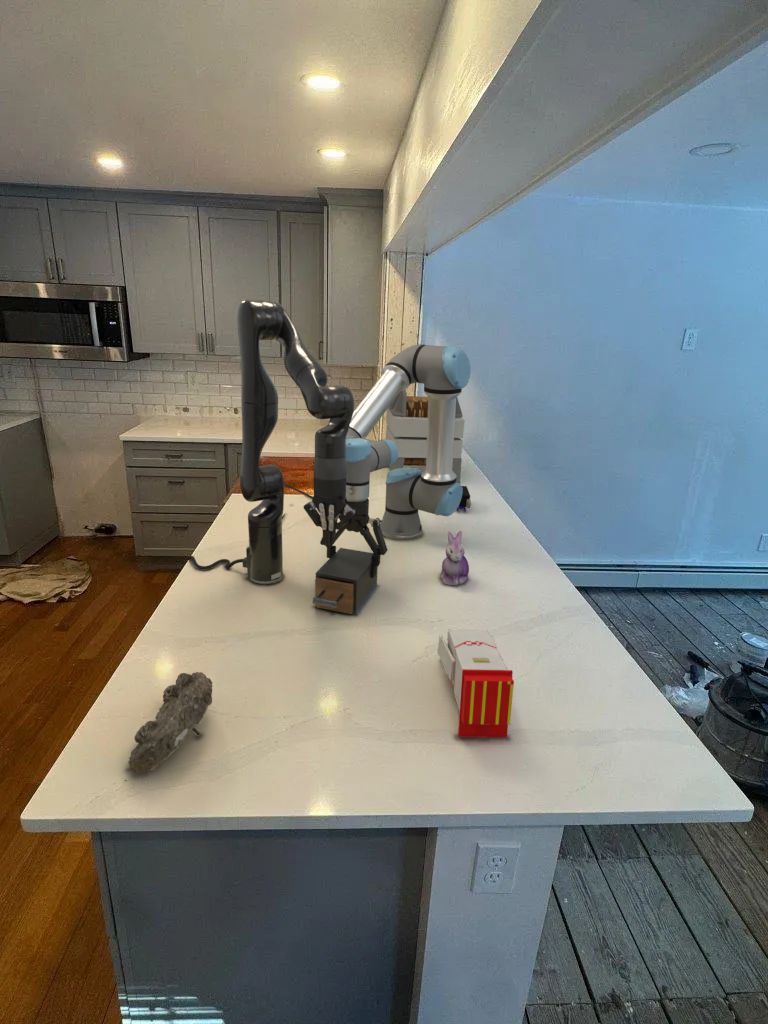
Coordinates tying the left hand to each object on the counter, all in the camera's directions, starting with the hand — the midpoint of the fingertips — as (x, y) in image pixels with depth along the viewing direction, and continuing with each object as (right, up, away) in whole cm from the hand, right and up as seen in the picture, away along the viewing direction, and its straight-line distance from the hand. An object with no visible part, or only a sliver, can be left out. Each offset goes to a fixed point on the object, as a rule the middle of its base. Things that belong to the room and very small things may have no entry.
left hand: (329, 543), depth 136 cm
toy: (+31, -30, -18) cm, 47 cm away
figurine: (+34, -12, +32) cm, 48 cm away
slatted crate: (+30, +26, +139) cm, 144 cm away
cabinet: (+3, -15, +19) cm, 25 cm away
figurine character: (+44, +9, +93) cm, 103 cm away
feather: (-24, +6, +74) cm, 78 cm away
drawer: (+2, -16, +14) cm, 22 cm away
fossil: (-24, -33, -32) cm, 52 cm away
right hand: (+5, -9, +21) cm, 23 cm away
